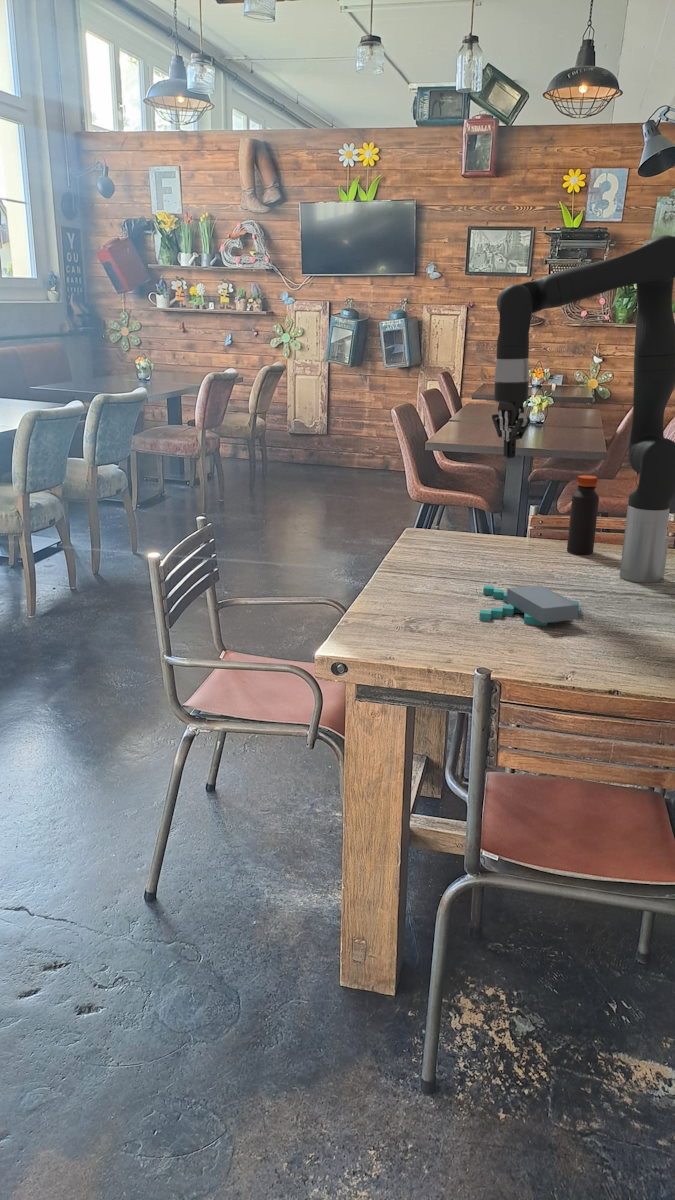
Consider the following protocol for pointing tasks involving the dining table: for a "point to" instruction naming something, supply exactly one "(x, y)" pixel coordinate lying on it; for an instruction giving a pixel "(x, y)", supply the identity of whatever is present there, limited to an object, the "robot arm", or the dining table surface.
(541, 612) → the board
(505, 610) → the alien figure
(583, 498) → the bottle
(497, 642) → the dining table surface
